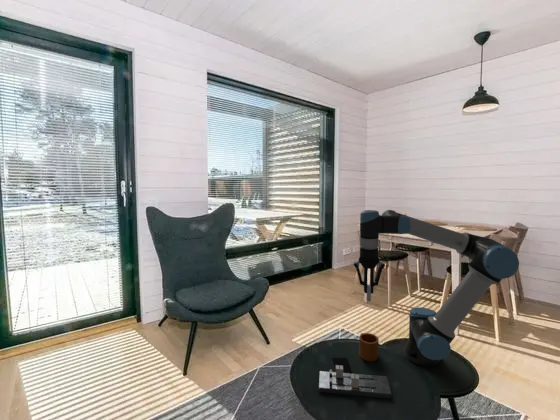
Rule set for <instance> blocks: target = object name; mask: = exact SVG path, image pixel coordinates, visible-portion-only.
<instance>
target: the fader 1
mask: <svg viewBox="0 0 560 420" xmlns="http://www.w3.org/2000/svg"><path fill="white" fill-rule="evenodd" d="M336 378H343V366H340V365H336Z"/></svg>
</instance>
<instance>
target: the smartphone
mask: <svg viewBox="0 0 560 420" xmlns="http://www.w3.org/2000/svg"><path fill="white" fill-rule="evenodd" d="M331 360H332V366H333V369H334V372H336V365H340V366H343V373H350V374H353V372H352V369H351V365H350V363H349V359H348V358H347V357H333V358H332V359H331Z"/></svg>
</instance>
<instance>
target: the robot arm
mask: <svg viewBox="0 0 560 420" xmlns="http://www.w3.org/2000/svg"><path fill="white" fill-rule="evenodd" d="M359 215H360V217H359V218H360V219H359V246H360V247H359V258H358V260H357V261H354V262H353V266H354V267H355V269H356V273H357V277H358V280H359V284H360V286H363V292H364V294H366V295H365V296H366V297H365V298H366V302H371V300H372V299H371V297H372V296H371V295H372V294H374V288H375V286H378V285H379V282H380V278H381V276H382V272H383V269H384V268H385V262H383V261H380V259H379V244H380V243H379V242H380V241H379V237H380V236H379V235H381V234H385V235H386V234H387V235H411V236H412V237H416V238H420V239H423V240H426V241H428V242H431V243H434V244H437V245H440V246H443V247H447V248H449V249H451V250H456V251H455V252H456V253H457V254H459V255H462V256H465V257H467V258H468V259H470V262H469V263H468V265H467V267H468V269H469V270H468V271H467V273H466V275H465V276H464V277H463V278H462V279H461V280H460V282H459V284H458V285H457V286H456V287H455V289H454V290H453V291H452V293H451V294H450V295H449V297H448V298H447V299H446V301H445V302H444V303H443V304H442V305H441V307H440V308H439V310H438V311H435V310H433V309H430V308H427V307H412V308H411V309H410V310H409V315H408V317H409V319H408V321H409V322H408V323H409V325H408V329H409V330H408V340H407V342H406V344H405V346H404V352H403V353H404V356H405V358H406V359H407V360H409V361H410V362H412V363H413V364H416V365H419V366H423V367H435V366H437V365H438V364H440V361H441V360H444V359H446V358H447V357H448V356H449V355H450V353H451V347H452V346H451V343H452V342H453V340H454V339H455V338H456V333H455V331H456V329H457V328H458V327H459V326H460V324H461V323H462V322H463V321H464V319H465V318H466V317H467V316H468V314H469V313H470V312H471V310H472V309H473V308H474V307H475V305H476V304H477V303H478V302H479V301H480V300H481V298H483V296H484V294H485V293H486V292H487V291H488V289H489V288H490V287H491V286H492V285H498V284H499V283H500V282H501V281H502V280H505V279H509V278H511V277H513V276H514V275H516V273H517V272H518V270H519V268H520V266H519V265H520V259H519V257H518V255H517V254H516V253H515V251H513V250H512V249H511V248H510V247H508V246H507V245H504V244H502V243H500V242H498V241H497V240H494V239H493V238H489V237H484V236H480V235H476V234H472V233H469V232H461V233H460V232H458V231H455V230H452V229H449V228H446V227H443V226H439V225H436V224H433V223H431V222H427V221H424V220H422V219H418V218H415V217H411V216H409V215H406V214H403V213H400V212H397V211H396V210H392V209H387V210H385V211H383V212H382V214H380V213H379V211H378V210H373V209H367V210H366V209H365V210H362V211H361V212H360V214H359ZM360 265H361V267H362V268H363V278H362V273H361V270H360ZM377 266H378V267H377ZM376 267H377V271H376V275H375V268H376ZM368 272H369V284H368Z"/></svg>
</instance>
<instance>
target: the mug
mask: <svg viewBox="0 0 560 420" xmlns="http://www.w3.org/2000/svg"><path fill="white" fill-rule="evenodd" d="M379 341H380V340H379V337H378V336H377V335H375V334H373V333H370V332H368V333H367V332H364V333H363V332H362V333H360V335H359V336H358V356H359V358H360V359H362V360H363V361H367V362H375V361H376V360H378V359H379Z"/></svg>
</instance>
